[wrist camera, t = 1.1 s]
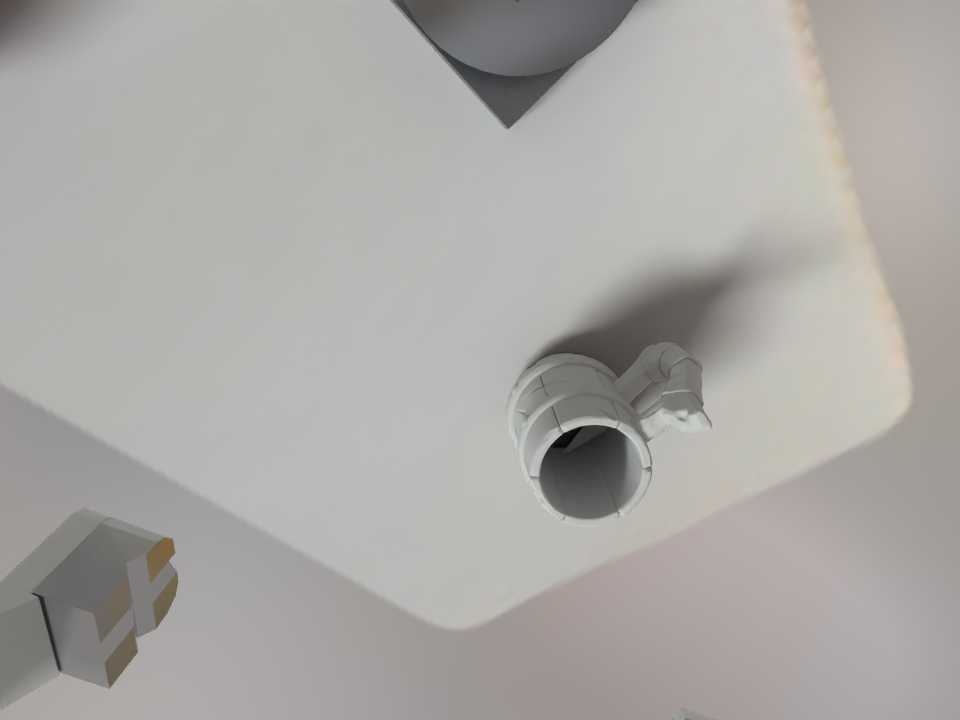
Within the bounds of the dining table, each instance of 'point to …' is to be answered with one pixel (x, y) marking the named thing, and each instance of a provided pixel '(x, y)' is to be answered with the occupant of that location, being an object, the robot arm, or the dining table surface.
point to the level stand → (495, 81)
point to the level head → (519, 31)
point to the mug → (599, 428)
